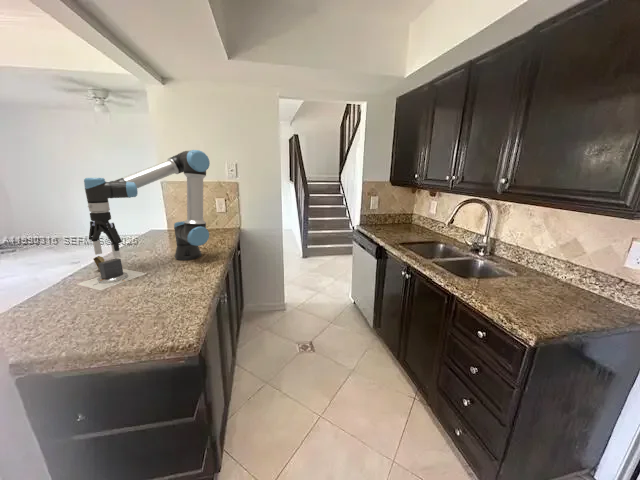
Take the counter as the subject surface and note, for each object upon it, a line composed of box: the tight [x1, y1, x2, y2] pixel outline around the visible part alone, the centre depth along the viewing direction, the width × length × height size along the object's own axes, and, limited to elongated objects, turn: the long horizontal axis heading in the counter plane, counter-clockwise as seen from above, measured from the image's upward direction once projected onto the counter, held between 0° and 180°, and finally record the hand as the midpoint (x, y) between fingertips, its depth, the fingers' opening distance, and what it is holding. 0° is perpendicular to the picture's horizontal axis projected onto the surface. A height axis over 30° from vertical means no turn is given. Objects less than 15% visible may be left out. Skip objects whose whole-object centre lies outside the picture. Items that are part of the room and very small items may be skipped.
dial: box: [97, 257, 128, 283], centre depth 132 cm, size 12×12×9 cm
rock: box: [93, 255, 106, 272], centre depth 146 cm, size 11×9×10 cm
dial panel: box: [76, 268, 147, 291], centre depth 133 cm, size 22×18×2 cm
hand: (107, 255), depth 130 cm, fingers open, 13 cm apart
